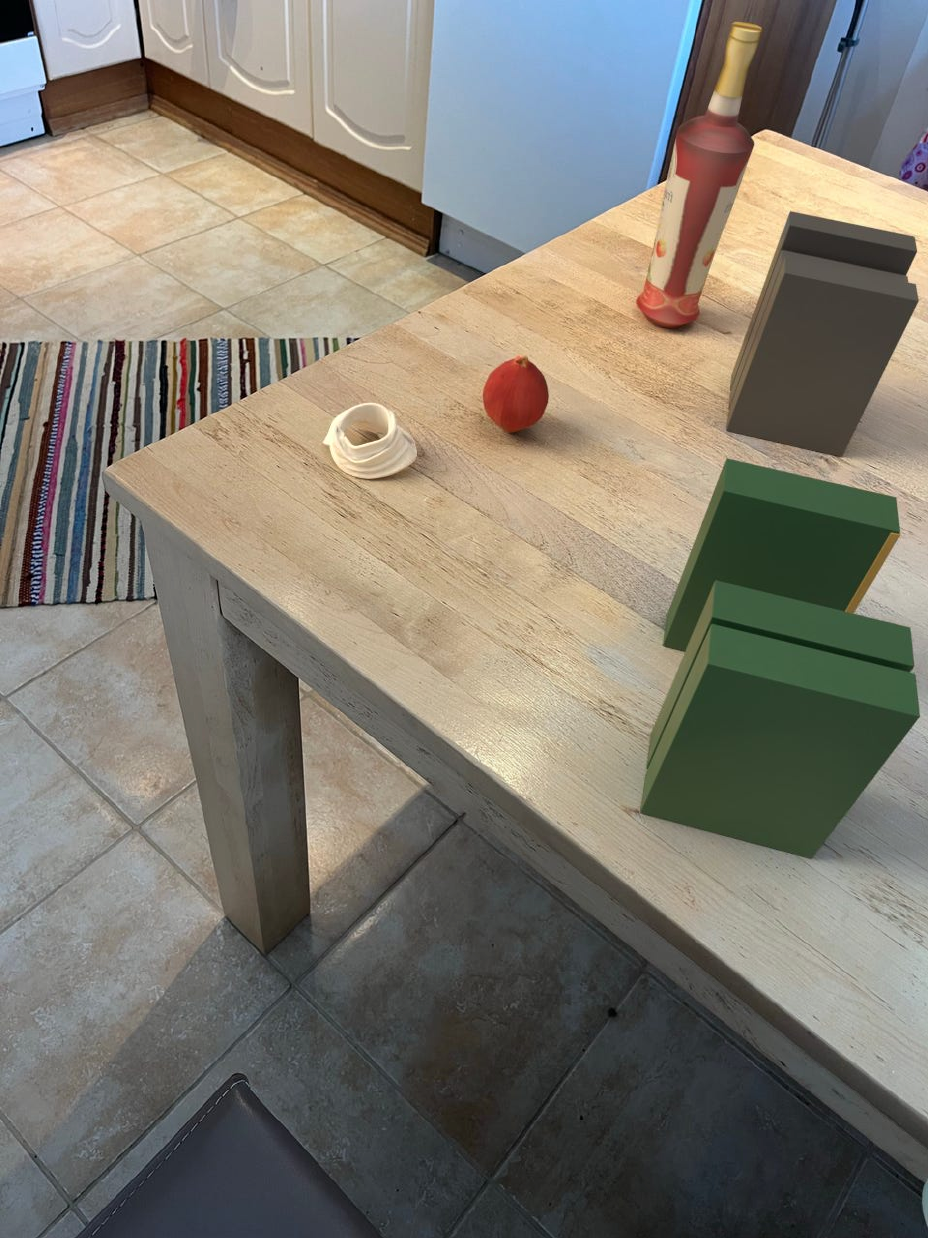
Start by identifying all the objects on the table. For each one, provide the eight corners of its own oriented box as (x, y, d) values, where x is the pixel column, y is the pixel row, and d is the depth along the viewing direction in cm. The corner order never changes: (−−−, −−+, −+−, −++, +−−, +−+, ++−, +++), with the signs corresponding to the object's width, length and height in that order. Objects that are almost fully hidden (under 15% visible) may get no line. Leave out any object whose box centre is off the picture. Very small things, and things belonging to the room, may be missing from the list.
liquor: (697, 341, 100) (790, 46, 80) (628, 327, 101) (704, 31, 80) (699, 307, 105) (787, 21, 85) (634, 294, 106) (706, 7, 85)
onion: (474, 410, 88) (485, 333, 82) (535, 411, 89) (549, 335, 83) (482, 449, 84) (493, 372, 78) (546, 450, 85) (561, 373, 79)
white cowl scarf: (426, 459, 84) (436, 412, 80) (393, 496, 79) (403, 448, 76) (346, 425, 85) (352, 377, 82) (309, 460, 80) (314, 411, 77)
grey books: (842, 457, 89) (924, 289, 76) (725, 430, 90) (788, 260, 77) (839, 399, 96) (914, 235, 83) (731, 375, 97) (789, 210, 84)
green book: (812, 683, 69) (902, 532, 58) (662, 646, 70) (723, 490, 59) (811, 648, 72) (898, 496, 61) (667, 612, 73) (726, 457, 62)
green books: (811, 859, 59) (920, 716, 48) (639, 813, 60) (707, 663, 49) (811, 775, 64) (910, 626, 53) (650, 733, 65) (715, 579, 54)
